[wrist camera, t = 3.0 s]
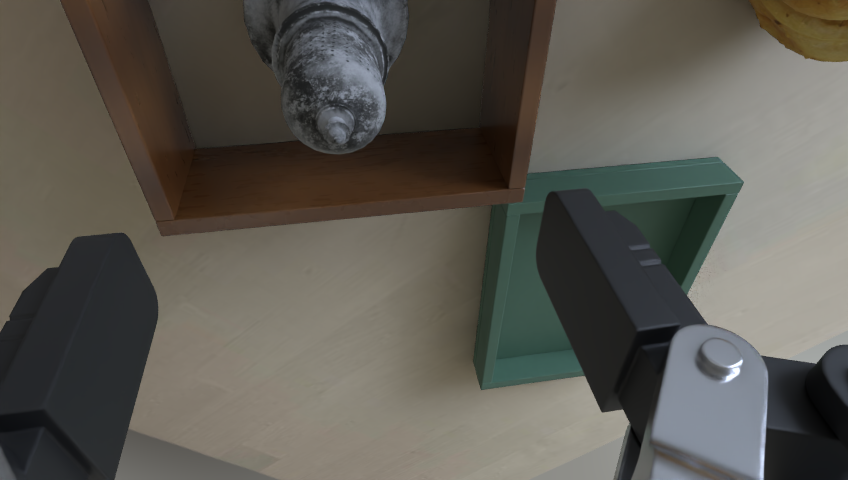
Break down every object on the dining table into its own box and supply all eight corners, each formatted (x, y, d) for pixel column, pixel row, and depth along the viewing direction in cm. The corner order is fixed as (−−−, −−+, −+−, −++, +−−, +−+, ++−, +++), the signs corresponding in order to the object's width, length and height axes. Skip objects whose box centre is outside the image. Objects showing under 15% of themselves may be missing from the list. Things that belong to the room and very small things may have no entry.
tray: (495, 176, 30) (508, 204, 28) (718, 156, 31) (744, 182, 29) (472, 361, 41) (480, 390, 39) (635, 339, 43) (650, 366, 41)
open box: (27, -282, 16) (-72, -299, 12) (537, -272, 17) (605, -283, 13) (183, 163, 26) (161, 237, 22) (492, 139, 28) (523, 202, 24)
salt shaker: (310, 81, 24) (310, 263, 15) (218, -39, 20) (149, 109, 12) (422, 13, 23) (491, 168, 14) (345, -130, 19) (376, -39, 10)
